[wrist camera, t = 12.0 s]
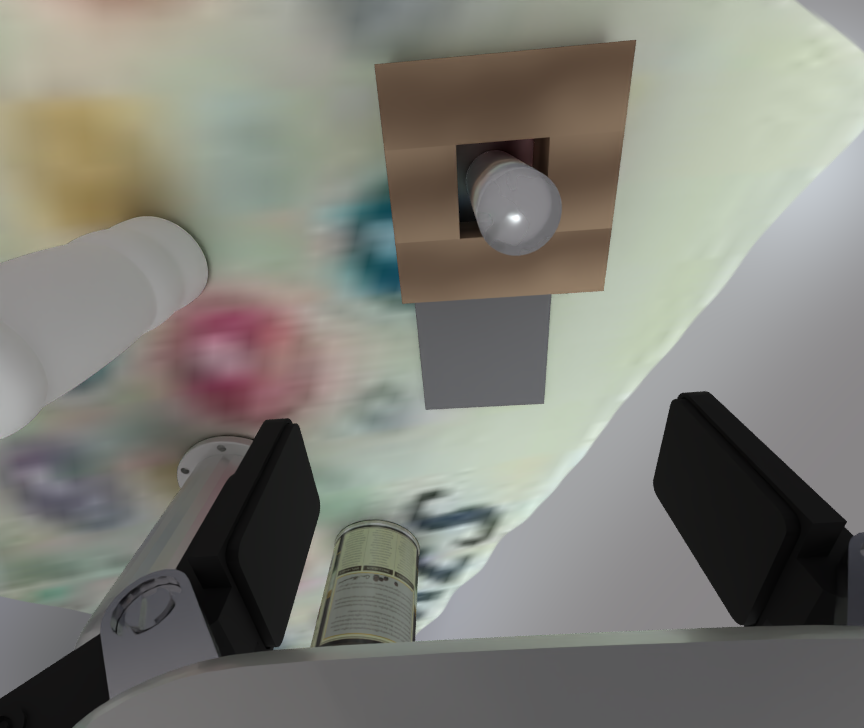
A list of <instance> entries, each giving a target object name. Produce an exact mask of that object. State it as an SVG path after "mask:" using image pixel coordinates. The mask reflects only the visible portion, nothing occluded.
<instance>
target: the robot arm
mask: <svg viewBox="0 0 864 728" xmlns="http://www.w3.org/2000/svg"><path fill="white" fill-rule="evenodd" d="M177 480H178V484H179V487H180V490H179V492H178V493H177V494H176V496H175V497H174V499H173V500H172V502H171V503H170V505H169V506H168V507H167V509H166V510H165V512H164V513H163V515H162V516H161V517H160V519H159V520H158V522H157V523H156V525H155V526H154V527H153V529H152V530H151V532H150V533H149V535H148V536H147V537H146V539H145V540H144V542H143V543H142V545H141V546H140V548H139V549H138V550H137V552H136V553H135V555H134V556H133V558H132V559H131V560H130V562H129V563H128V565H127V566H126V568H125V569H124V570H123V572H122V573H121V575H120V576H119V578H118V579H117V581H116V582H115V583H114V585H113V586H112V588H111V589H110V591H109V592H108V593H107V595H106V596H105V598H104V599H103V601H102V602H101V603H100V605H99V606H98V607H97V609H96V610H95V612H94V613H93V615H92V616H91V618H90V619H89V621H88V622H87V624H86V625H85V627H84V628H83V630H82V632H81V634H80V636H79V638H78V641H77V643H76V645H75V649H74V651H72V652H71V653H70V654H68V655H67V656H65V657H64V658H62V659H60V660H59V661H57V662H56V663H54V664H53V665H51V666H50V667H48V668H46V669H45V670H43V671H42V672H40V673H39V674H38V675H36V676H34V677H33V678H31V679H30V680H28V681H27V682H25V683H24V684H22V685H20V686H19V687H17V688H16V689H14V690H13V691H11V692H10V693H8V694H7V695H5V696H4V697H2V698H1V699H0V728H864V532H862V533H858V534H857V535H855V536H853V535H852V534H851V533H850V532H849V531H848V530H847V529H846V528H845V527H844V526H845V524H846V522H847V521H846V520H845V519H844V518H842V516H840V515H839V514H838V513H837V512H836V511H835V510H834V509H833V508H832V507H831V506H830V505H829V504H828V503H827V502H826V501H824V500H823V499H822V498H821V497H820V496H819V495H818V494H817V493H816V492H815V491H814V490H813V489H812V488H810V486H808V485H807V484H806V483H805V482H804V481H803V480H802V479H801V478H800V477H799V476H798V475H797V474H796V473H795V472H794V471H792V469H790V468H789V467H788V466H787V465H786V464H785V463H784V462H783V461H782V460H781V459H780V458H779V457H778V456H777V455H776V454H774V453H773V452H772V451H771V450H770V449H769V448H768V447H767V446H766V445H765V444H764V443H763V442H762V441H760V439H758V437H756V436H755V435H754V434H753V433H752V432H751V431H750V430H749V429H748V428H747V427H746V426H744V424H743V423H741V422H740V421H739V420H738V419H737V418H736V417H735V416H734V415H733V414H732V413H731V412H730V411H729V410H728V409H727V408H726V407H725V406H724V405H722V404H721V403H720V402H719V401H718V400H717V399H716V398H715V397H714V396H713V395H712V394H710V393H709V392H705V391H703V392H689V393H681V394H680V395H679V396H678V398H677V399H674V400H673V401H672V402H671V405H670V409H669V413H668V418H667V422H666V427H665V431H664V435H663V440H662V444H661V448H660V453H659V457H658V462H657V466H656V470H655V475H654V479H653V486H654V491H655V493H656V495H657V497H658V499H659V500H660V502H661V504H662V505H663V507H664V508H665V510H666V512H667V513H668V515H669V516H670V518H671V520H672V521H673V523H674V525H675V526H676V528H677V529H678V531H679V533H680V534H681V536H682V537H683V539H684V541H685V542H686V544H687V546H688V547H689V549H690V550H691V552H692V554H693V555H694V557H695V558H696V560H697V561H698V563H699V565H700V567H701V568H702V570H703V571H704V573H705V574H706V576H707V578H708V579H709V581H710V583H711V584H712V586H713V588H714V589H715V591H716V592H717V594H718V596H719V597H720V599H721V601H722V602H723V604H724V605H725V607H726V609H727V610H728V612H729V613H730V615H731V617H732V618H733V619H734V620H735V622H736V623H738V624H740V625H744V627H722V628H698V629H675V630H649V631H625V632H602V633H580V634H558V635H536V636H515V637H494V638H473V639H454V640H435V641H415V642H396V643H377V644H358V645H340V646H326V647H312V648H298V649H284V650H273V648H274V647H279V646H280V645H281V643H282V641H283V638H284V635H285V631H286V628H287V624H288V621H289V617H290V614H291V610H292V607H293V603H294V600H295V596H296V593H297V590H298V586H299V583H300V579H301V576H302V572H303V569H304V565H305V562H306V558H307V555H308V551H309V548H310V545H311V541H312V538H313V534H314V531H315V527H316V524H317V520H318V517H319V513H320V500H319V496H318V492H317V489H316V485H315V481H314V478H313V474H312V470H311V467H310V463H309V460H308V456H307V452H306V449H305V445H304V442H303V438H302V434H301V431H300V427H299V425H298V424H292V421H291V420H290V419H288V418H286V419H271V420H265V421H264V423H263V424H262V426H261V428H260V430H259V431H258V433H257V435H256V437H255V438H254V440H250V439H246V438H241V437H234V436H219V437H213V438H208V439H206V440H203V441H200V442H198V443H197V444H195V445H194V446H192V447H191V448H190V449H189V450H188V451H187V452H186V454H185V455H184V457H183V458H182V459H181V461H180V463H179V465H178V468H177Z"/></svg>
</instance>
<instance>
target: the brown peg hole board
mask: <svg viewBox="0 0 864 728" xmlns="http://www.w3.org/2000/svg"><path fill="white" fill-rule="evenodd" d="M635 46H636V40H630V41H619V42H609V43H598V44H587V45H577V46H566V47H555V48H545V49H534V50H523V51H513V52H502V53H491V54H481V55H470V56H459V57H449V58H438V59H427V60H417V61H406V62H395V63H385V64H374V65H375V74H376V82H377V91H378V99H379V108H380V116H381V125H382V134H383V142H384V151H385V159H386V168H387V176H388V185H389V193H390V202H391V211H392V219H393V228H394V236H395V245H396V253H397V262H398V270H399V279H400V287H401V296H402V304H405V303H421V302H437V301H452V300H468V299H484V298H499V297H515V296H531V295H546V294H562V293H577V292H593V291H604V283H605V276H606V268H607V260H608V253H609V245H610V237H611V230H612V222H613V214H614V207H615V199H616V191H617V184H618V176H619V168H620V161H621V153H622V145H623V138H624V130H625V122H626V115H627V107H628V99H629V92H630V84H631V76H632V69H633V61H634V53H635ZM533 138H534V147H533V168H534V169H536V170H537V171H539V172H541V173H543V174H544V175H546V176H547V177H548V178H549V179H550V180H551V181H552V182H553V183H554V184H555V186H556V187H557V189H558V191H559V194H560V197H561V203H562V213H561V219H560V223H559V225H558V228H557V230H556V231H555V233H554V235H553V236H552V238H551V239H550V240H549V241H548V242H547V243H546V244H545V245H544V246H542V247H541V248H539V249H538V250H536V251H534V252H532V253H529V254H525V255H519V256H512V255H506V254H503V253H500V252H498V251H496V250H495V249H493V248H492V247H491V246H490V245H489V244H488V243H487V242H486V241H485V239H484V238H483V236H482V234H481V232H480V229H479V226H478V223H477V221H470V222H459V207H458V184H457V160H456V145H461V144H473V143H485V142H497V141H509V140H521V139H533Z"/></svg>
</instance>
